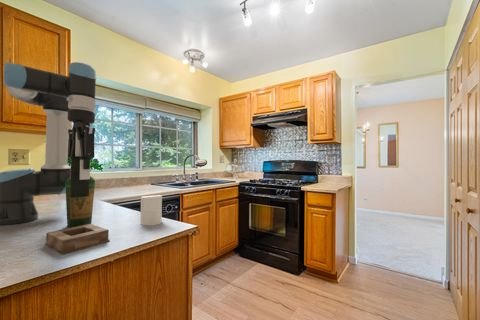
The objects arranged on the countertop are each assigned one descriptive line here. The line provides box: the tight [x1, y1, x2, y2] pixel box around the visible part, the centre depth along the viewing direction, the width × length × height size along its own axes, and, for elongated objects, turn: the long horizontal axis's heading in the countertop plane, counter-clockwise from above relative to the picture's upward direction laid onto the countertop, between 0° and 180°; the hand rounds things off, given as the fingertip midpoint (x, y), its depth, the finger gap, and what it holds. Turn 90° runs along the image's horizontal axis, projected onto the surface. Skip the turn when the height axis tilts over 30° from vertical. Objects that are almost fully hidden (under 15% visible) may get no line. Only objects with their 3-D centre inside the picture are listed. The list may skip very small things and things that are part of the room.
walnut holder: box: [44, 223, 110, 255], centre depth 75 cm, size 14×14×4 cm
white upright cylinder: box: [139, 194, 163, 226], centre depth 102 cm, size 9×9×12 cm
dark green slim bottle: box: [70, 132, 89, 198], centre depth 75 cm, size 5×5×25 cm
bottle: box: [65, 175, 96, 228], centre depth 96 cm, size 11×11×28 cm
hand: (80, 178), depth 75 cm, fingers closed on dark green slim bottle, 6 cm apart
